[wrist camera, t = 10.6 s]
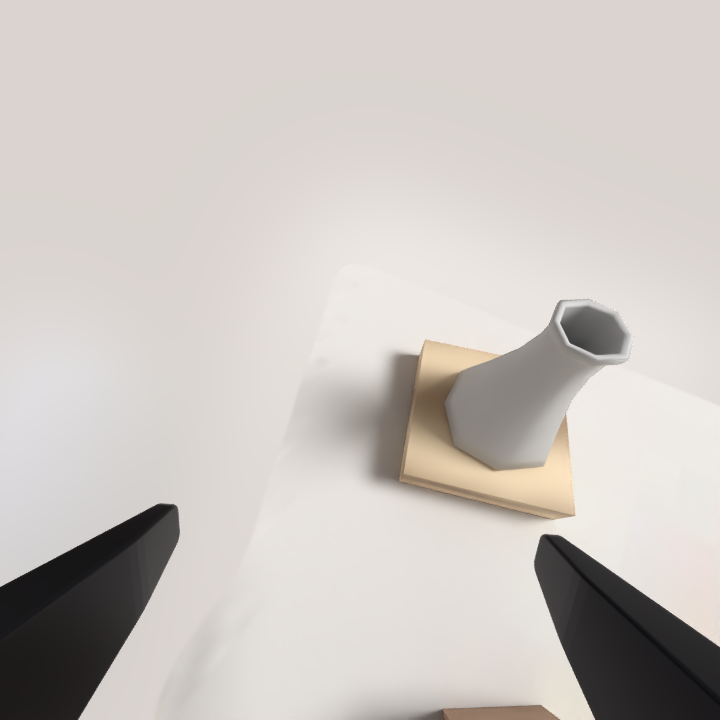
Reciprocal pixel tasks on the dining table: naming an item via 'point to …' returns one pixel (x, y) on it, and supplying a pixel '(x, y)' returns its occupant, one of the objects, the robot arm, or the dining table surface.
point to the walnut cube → (499, 713)
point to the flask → (534, 386)
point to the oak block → (461, 470)
